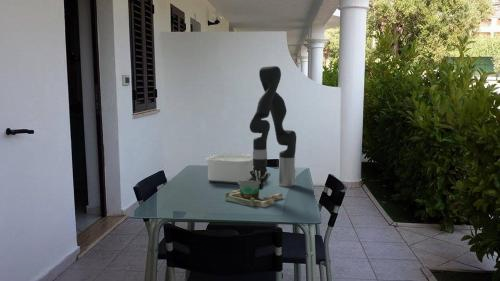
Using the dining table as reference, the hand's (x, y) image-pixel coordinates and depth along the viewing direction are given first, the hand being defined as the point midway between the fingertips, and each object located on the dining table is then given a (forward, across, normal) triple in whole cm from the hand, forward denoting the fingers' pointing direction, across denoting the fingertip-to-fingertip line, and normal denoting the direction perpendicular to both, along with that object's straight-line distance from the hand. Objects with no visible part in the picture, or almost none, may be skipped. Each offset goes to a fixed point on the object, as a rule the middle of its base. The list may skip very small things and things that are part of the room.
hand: (260, 189), depth 244 cm
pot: (+6, +43, -24) cm, 49 cm away
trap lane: (+4, 0, +5) cm, 6 cm away
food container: (+4, +1, +7) cm, 8 cm away
